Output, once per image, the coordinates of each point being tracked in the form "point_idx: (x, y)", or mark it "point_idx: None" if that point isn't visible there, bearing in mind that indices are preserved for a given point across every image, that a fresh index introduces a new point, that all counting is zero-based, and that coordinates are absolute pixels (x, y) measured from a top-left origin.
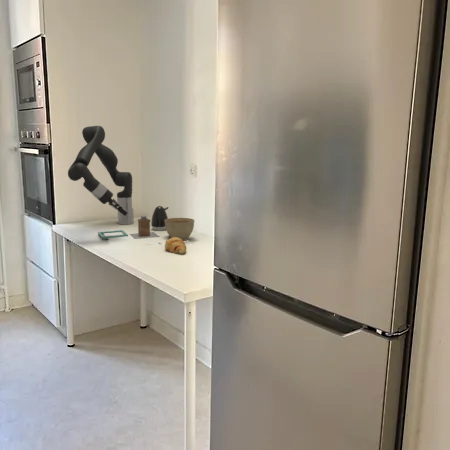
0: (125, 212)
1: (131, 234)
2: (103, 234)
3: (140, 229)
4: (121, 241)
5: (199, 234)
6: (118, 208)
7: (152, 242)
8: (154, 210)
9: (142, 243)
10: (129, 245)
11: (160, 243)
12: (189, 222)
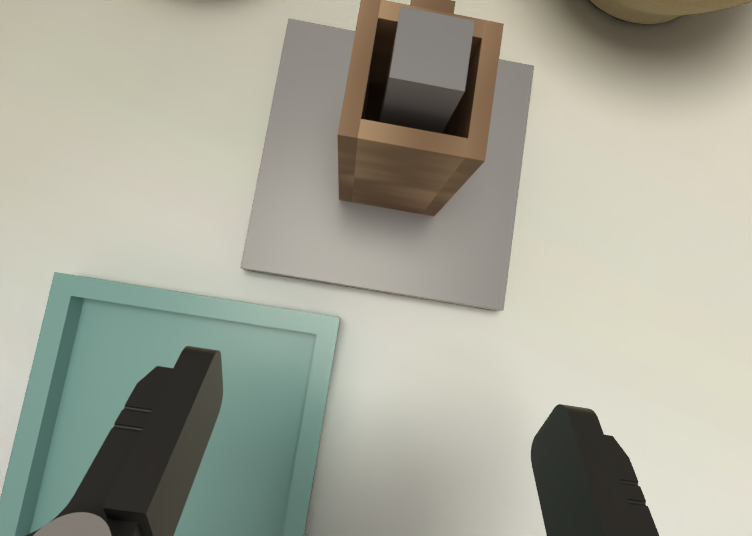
0: (626, 470)
1: (281, 255)
2: (59, 510)
3: (445, 196)
4: (439, 427)
5: None
6: (164, 518)
7: (624, 197)
8: None
9: (617, 288)
10: (634, 421)
11: (693, 157)
12: None
